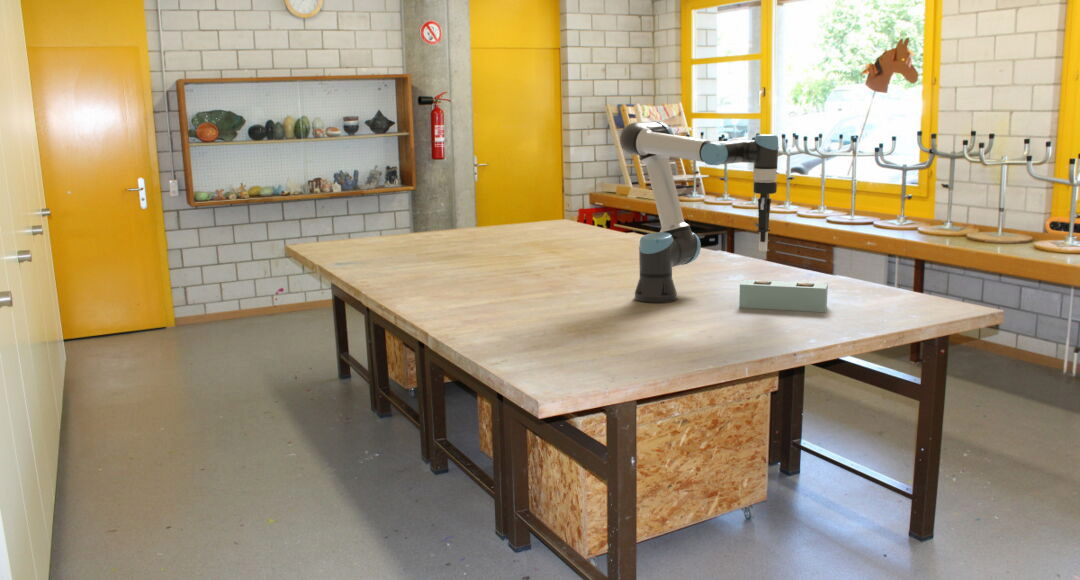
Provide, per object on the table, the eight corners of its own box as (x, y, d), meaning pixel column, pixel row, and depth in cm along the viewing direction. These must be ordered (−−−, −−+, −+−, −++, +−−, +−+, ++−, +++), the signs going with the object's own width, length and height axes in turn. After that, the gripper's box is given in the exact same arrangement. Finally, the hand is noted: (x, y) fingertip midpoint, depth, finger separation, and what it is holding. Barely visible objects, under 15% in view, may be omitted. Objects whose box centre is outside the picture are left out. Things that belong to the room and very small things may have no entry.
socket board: (739, 307, 306) (739, 284, 304) (743, 301, 314) (743, 279, 312) (824, 312, 296) (825, 288, 294) (826, 306, 304) (827, 283, 302)
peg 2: (796, 308, 301) (797, 285, 299) (797, 305, 305) (798, 282, 303) (810, 309, 299) (811, 285, 298) (811, 306, 303) (812, 283, 302)
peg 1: (754, 306, 306) (754, 283, 304) (756, 303, 310) (756, 280, 308) (767, 306, 304) (768, 283, 303) (769, 303, 308) (770, 281, 307)
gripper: (774, 183, 291) (771, 254, 296) (779, 179, 303) (776, 248, 308) (751, 182, 294) (748, 253, 299) (756, 179, 306) (754, 247, 311)
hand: (762, 250), depth 304 cm, fingers closed
